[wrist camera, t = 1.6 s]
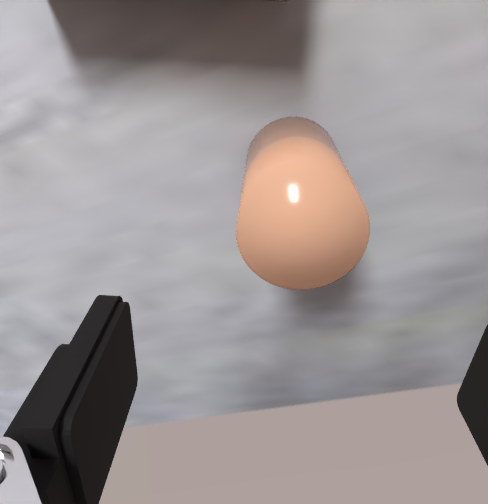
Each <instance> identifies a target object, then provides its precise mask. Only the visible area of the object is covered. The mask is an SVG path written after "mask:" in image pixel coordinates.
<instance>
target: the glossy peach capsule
mask: <svg viewBox="0 0 488 504" xmlns="http://www.w3.org/2000/svg"><path fill="white" fill-rule="evenodd" d="M369 234H370V222H369V216H368V213H367V209H366V207H365V205H364V203H363V201H362V199H361V197H360V195H359V193H358V191H357V189H356V187H355V185H354V183H353V181H352V179H351V177H350V175H349V173H348V171H347V169H346V167H345V165H344V162H343V160H342V158H341V156H340V154H339V152H338V150H337V148H336V146H335V144H334V142H333V140H332V138H331V137H330V135H329V134H328V132H327V131H326V130H325V129H324V128H323V127H321V126H320V125H319V124H317V123H315V122H314V121H311V120H309V119H305V118H301V117H287V118H282V119H278V120H276V121H273V122H271V123H270V124H268V125H266V126H265V127H264V128H263V129H261V130H260V131H259V132H258V134H257V135H256V136H255V138H254V139H253V141H252V143H251V145H250V147H249V150H248V154H247V160H246V167H245V174H244V180H243V187H242V194H241V201H240V207H239V214H238V221H237V229H236V238H237V244H238V248H239V251H240V254H241V256H242V258H243V260H244V261H245V263H246V264H247V265H248V267H249V268H250V269H251V270H252V271H253V272H254V273H255V274H256V275H258V276H259V277H260V278H262V279H263V280H265V281H267V282H269V283H271V284H273V285H276V286H279V287H283V288H287V289H299V290H304V289H313V288H318V287H321V286H325V285H328V284H330V283H332V282H334V281H336V280H338V279H340V278H341V277H343V276H344V275H345V274H347V273H348V272H349V271H350V270H351V269H352V268H353V267H354V266H355V265H356V264H357V263H358V261H359V260H360V258H361V257H362V255H363V254H364V251H365V249H366V247H367V244H368V240H369Z"/></svg>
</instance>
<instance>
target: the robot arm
mask: <svg viewBox="0 0 488 504" xmlns="http://www.w3.org/2000/svg"><path fill="white" fill-rule="evenodd" d="M137 379H138V377H137V367H136V358H135V349H134V340H133V331H132V323H131V314H130V306H129V303H128V302H123V300H122V297H120V296H107V295H99V296H97V297H96V299H95V301H94V302H93V304H92V306H91V308H90V309H89V311H88V313H87V314H86V316H85V318H84V320H83V321H82V323H81V325H80V327H79V328H78V330H77V332H76V334H75V335H74V337H73V339H72V341H71V342H70V344H62V345H60V346H58V348H57V349H56V350H55V352H54V353H53V355H52V357H51V358H50V360H49V362H48V363H47V365H46V366H45V368H44V370H43V371H42V373H41V375H40V376H39V378H38V380H37V381H36V383H35V385H34V386H33V388H32V390H31V391H30V393H29V394H28V396H27V398H26V399H25V401H24V403H23V404H22V406H21V408H20V409H19V411H18V413H17V414H16V416H15V418H14V419H13V421H12V422H11V424H10V426H9V427H8V429H7V431H6V432H5V434H4V436H3V437H2V436H0V504H99V500H100V498H101V495H102V491H103V488H104V485H105V482H106V479H107V476H108V473H109V470H110V467H111V464H112V461H113V458H114V455H115V452H116V449H117V446H118V443H119V440H120V437H121V433H122V430H123V428H124V425H125V422H126V419H127V415H128V412H129V409H130V406H131V403H132V400H133V397H134V394H135V391H136V387H137ZM457 403H458V407H459V410H460V412H461V414H462V416H463V418H464V419H465V422H466V423H467V426H468V427H469V430H470V431H471V434H472V436H473V438H474V439H475V441H476V443H477V445H478V447H479V449H480V451H481V453H482V455H483V457H484V459H485V461H486V463H487V465H488V325H487V327H486V329H485V331H484V333H483V336H482V338H481V340H480V343H479V345H478V347H477V350H476V352H475V355H474V357H473V359H472V362H471V364H470V366H469V369H468V371H467V373H466V376H465V378H464V380H463V383H462V385H461V388H460V390H459V392H458V395H457Z"/></svg>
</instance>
